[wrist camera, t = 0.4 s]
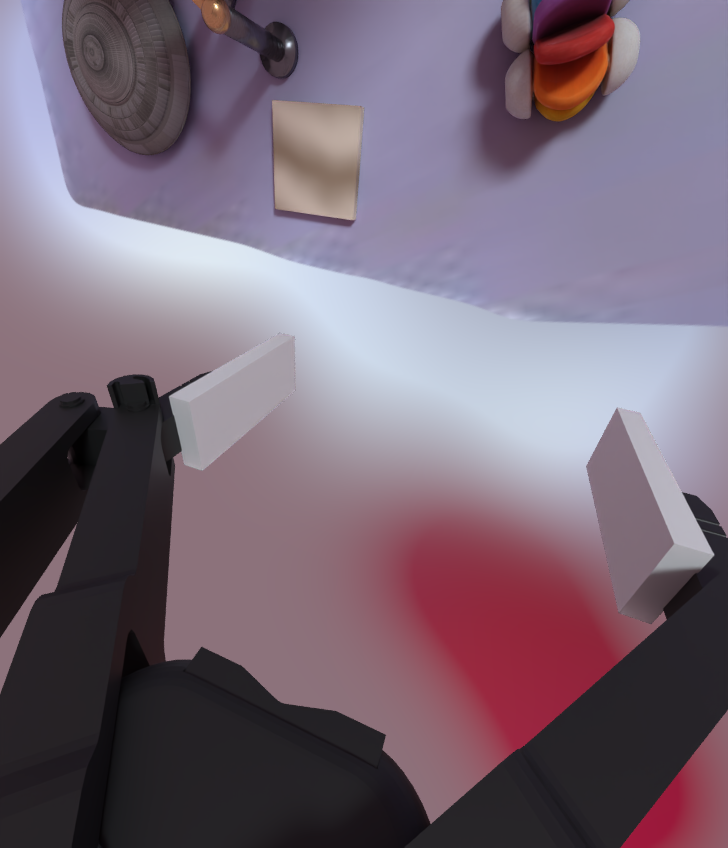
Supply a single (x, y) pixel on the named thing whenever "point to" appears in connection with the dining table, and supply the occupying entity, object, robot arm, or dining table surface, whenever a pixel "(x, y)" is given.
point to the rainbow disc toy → (565, 54)
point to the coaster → (317, 157)
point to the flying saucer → (130, 69)
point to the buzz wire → (253, 35)
